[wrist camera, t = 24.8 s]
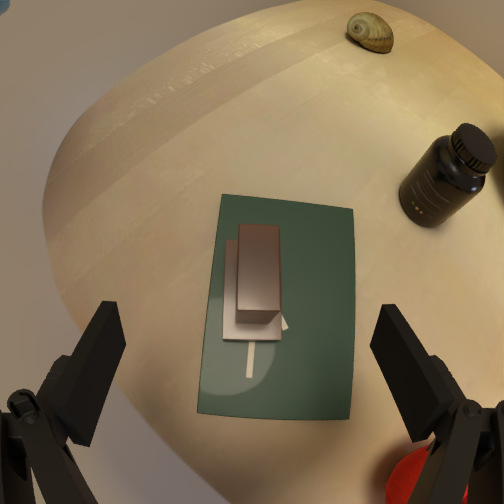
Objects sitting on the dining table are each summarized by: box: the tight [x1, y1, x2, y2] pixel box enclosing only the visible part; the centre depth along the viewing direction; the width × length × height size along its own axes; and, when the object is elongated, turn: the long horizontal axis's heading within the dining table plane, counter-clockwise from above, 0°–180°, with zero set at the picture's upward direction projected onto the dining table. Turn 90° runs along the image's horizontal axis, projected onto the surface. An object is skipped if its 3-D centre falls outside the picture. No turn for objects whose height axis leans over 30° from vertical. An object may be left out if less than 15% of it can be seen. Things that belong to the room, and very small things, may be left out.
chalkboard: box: [197, 194, 355, 420], centre depth 28 cm, size 13×20×1 cm, turn 175°
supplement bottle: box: [400, 123, 497, 227], centre depth 28 cm, size 7×7×12 cm
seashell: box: [347, 12, 394, 53], centre depth 42 cm, size 10×7×8 cm
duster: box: [222, 224, 282, 342], centre depth 23 cm, size 8×4×8 cm, turn 179°
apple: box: [385, 445, 468, 504], centre depth 17 cm, size 10×10×12 cm
